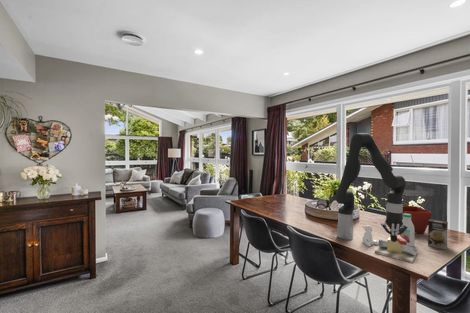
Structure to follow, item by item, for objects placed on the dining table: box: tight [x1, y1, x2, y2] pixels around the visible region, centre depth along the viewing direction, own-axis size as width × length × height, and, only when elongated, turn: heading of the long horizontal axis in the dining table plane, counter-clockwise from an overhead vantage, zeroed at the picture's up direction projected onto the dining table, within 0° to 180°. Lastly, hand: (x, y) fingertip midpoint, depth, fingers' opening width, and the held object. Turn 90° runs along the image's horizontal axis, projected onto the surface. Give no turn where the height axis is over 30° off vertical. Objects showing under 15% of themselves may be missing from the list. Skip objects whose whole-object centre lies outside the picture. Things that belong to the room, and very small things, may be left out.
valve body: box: [377, 236, 416, 256], centre depth 136 cm, size 17×7×7 cm, turn 44°
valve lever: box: [397, 235, 407, 245], centre depth 131 cm, size 15×4×3 cm, turn 159°
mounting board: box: [374, 246, 419, 264], centre depth 136 cm, size 18×16×2 cm
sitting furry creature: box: [362, 224, 379, 247], centre depth 151 cm, size 10×9×12 cm
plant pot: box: [399, 205, 432, 234], centre depth 176 cm, size 19×19×17 cm
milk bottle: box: [400, 213, 416, 248], centre depth 148 cm, size 8×8×20 cm
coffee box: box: [427, 218, 449, 250], centre depth 146 cm, size 9×6×16 cm
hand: (393, 241), depth 130 cm, fingers closed
